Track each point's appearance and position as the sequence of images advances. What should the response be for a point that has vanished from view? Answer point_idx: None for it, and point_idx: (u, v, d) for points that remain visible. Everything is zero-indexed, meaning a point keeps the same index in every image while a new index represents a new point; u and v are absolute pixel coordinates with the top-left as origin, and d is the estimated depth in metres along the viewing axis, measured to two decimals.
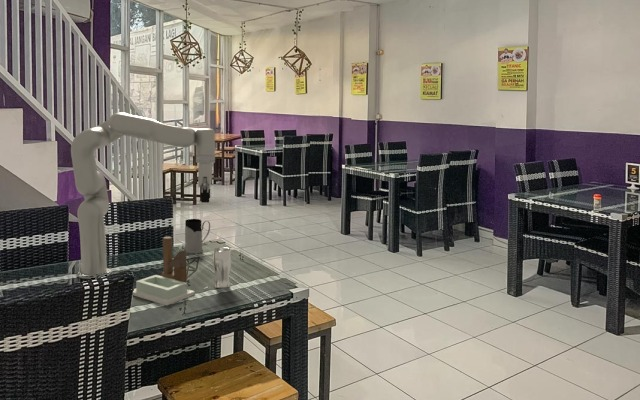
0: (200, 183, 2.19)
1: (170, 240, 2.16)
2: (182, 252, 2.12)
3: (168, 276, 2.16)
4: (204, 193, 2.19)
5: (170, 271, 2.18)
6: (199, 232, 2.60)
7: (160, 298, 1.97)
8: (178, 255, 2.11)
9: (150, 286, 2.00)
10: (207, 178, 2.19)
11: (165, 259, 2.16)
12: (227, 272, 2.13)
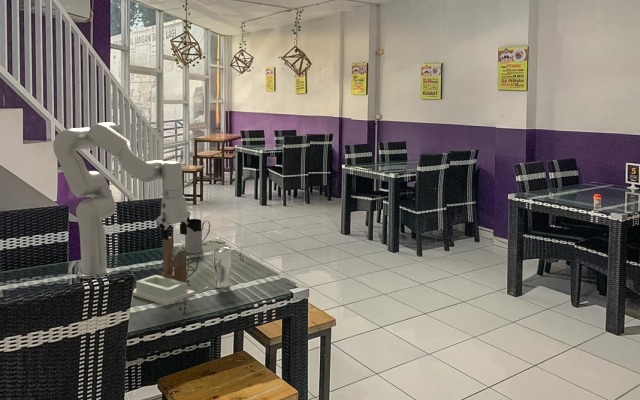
0: None
1: (170, 240, 2.16)
2: (182, 252, 2.12)
3: (168, 276, 2.16)
4: None
5: (170, 271, 2.18)
6: (199, 232, 2.60)
7: (160, 298, 1.97)
8: (178, 255, 2.11)
9: (150, 286, 2.00)
10: None
11: (165, 259, 2.16)
12: (227, 272, 2.13)
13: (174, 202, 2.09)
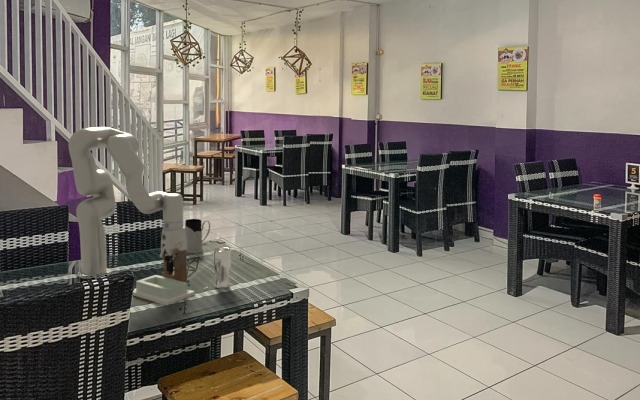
0: None
1: None
2: (182, 252, 2.12)
3: (168, 276, 2.16)
4: None
5: None
6: (199, 232, 2.60)
7: (160, 298, 1.97)
8: (178, 255, 2.11)
9: (150, 286, 2.00)
10: None
11: None
12: (227, 272, 2.13)
13: (175, 233, 2.11)
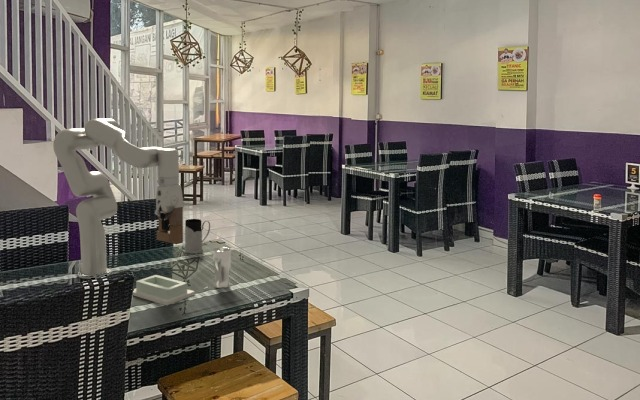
0: None
1: None
2: (178, 209, 2.05)
3: (163, 234, 2.09)
4: None
5: (166, 230, 2.11)
6: (199, 232, 2.60)
7: (160, 298, 1.97)
8: (174, 212, 2.05)
9: (150, 286, 2.00)
10: None
11: None
12: (227, 272, 2.13)
13: (170, 190, 2.04)
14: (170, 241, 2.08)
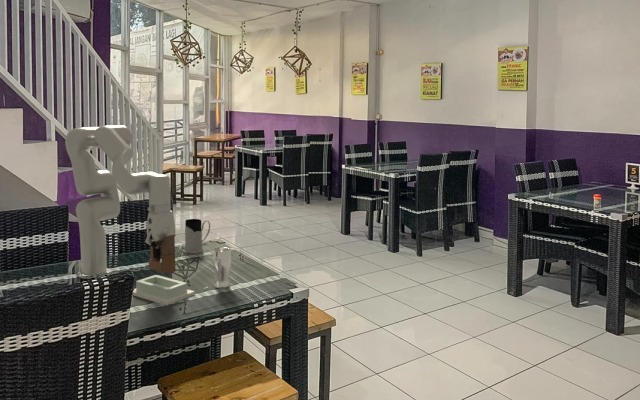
0: None
1: None
2: (170, 237, 1.97)
3: (155, 263, 2.01)
4: None
5: None
6: (199, 232, 2.60)
7: (160, 298, 1.97)
8: (166, 240, 1.97)
9: (150, 286, 2.00)
10: None
11: None
12: (227, 272, 2.13)
13: (161, 217, 1.96)
14: (162, 270, 2.00)
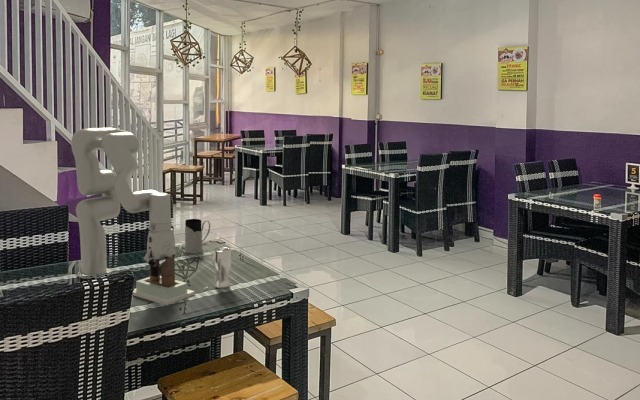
0: None
1: None
2: (170, 258, 1.99)
3: None
4: None
5: (157, 279, 2.04)
6: (199, 232, 2.60)
7: (160, 298, 1.97)
8: (166, 262, 1.98)
9: (150, 286, 2.00)
10: None
11: None
12: (227, 272, 2.13)
13: (162, 236, 1.98)
14: None
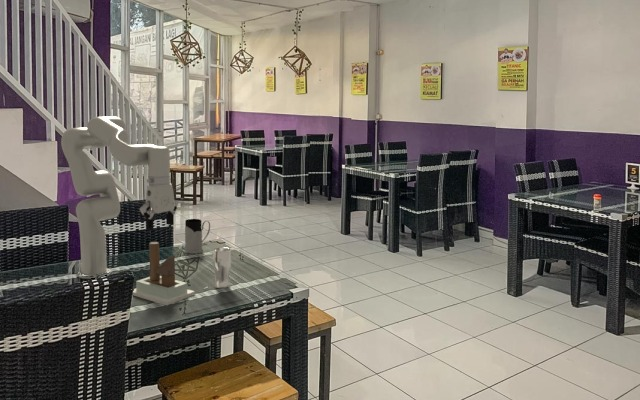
0: None
1: (157, 246, 2.02)
2: (170, 258, 1.99)
3: None
4: None
5: (157, 279, 2.04)
6: (199, 232, 2.60)
7: (160, 298, 1.97)
8: (166, 262, 1.98)
9: (150, 286, 2.00)
10: None
11: (152, 266, 2.03)
12: (227, 272, 2.13)
13: (161, 189, 1.95)
14: None
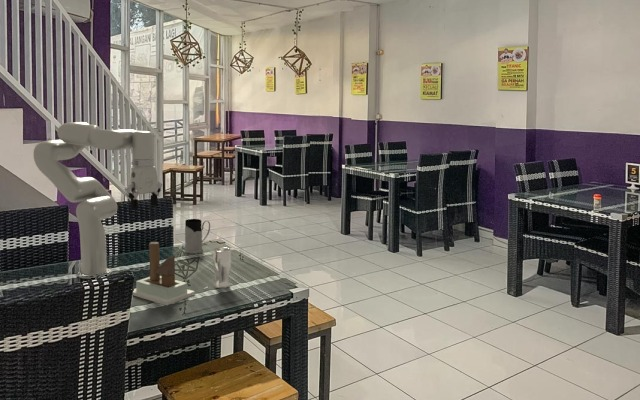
0: None
1: (157, 246, 2.02)
2: (170, 258, 1.99)
3: None
4: None
5: (157, 279, 2.04)
6: (199, 232, 2.60)
7: (160, 298, 1.97)
8: (166, 262, 1.98)
9: (150, 286, 2.00)
10: None
11: (152, 266, 2.03)
12: (227, 272, 2.13)
13: (144, 171, 2.06)
14: None
